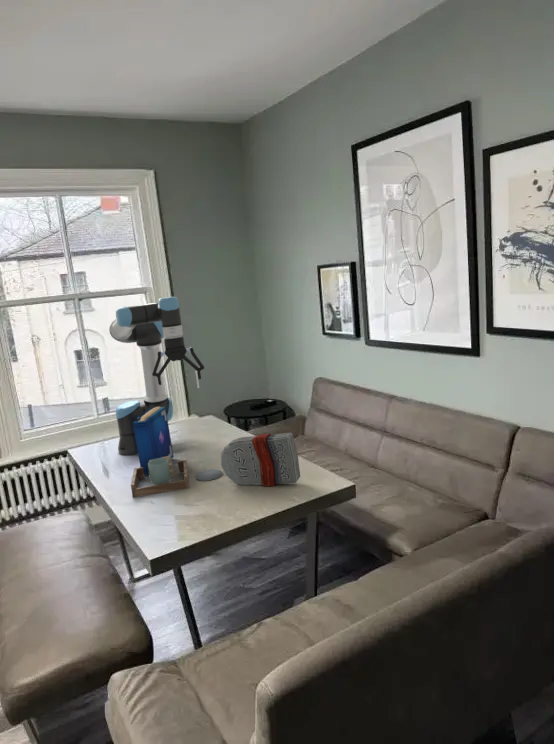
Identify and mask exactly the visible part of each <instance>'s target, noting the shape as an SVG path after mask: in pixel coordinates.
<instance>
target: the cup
mask: <svg viewBox="0 0 554 744" xmlns="http://www.w3.org/2000/svg"><path fill="white" fill-rule="evenodd" d="M148 469H149V475H150V478H149V480H150V479H151V481H150V482H151V483H152V485H158V484H164V483H170V481H171V477H170V469H169V463H168V459H166V458H157V459H153V460H151V461H149V462H148ZM149 475H148V476H149Z"/></svg>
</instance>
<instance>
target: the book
mask: <svg viewBox="0 0 554 744" xmlns="http://www.w3.org/2000/svg"><path fill="white" fill-rule="evenodd" d="M133 429H134V434H135V440H136V445H137V451H138V454H137V455H138V460H139V466H140V467H143V470H144V476H149V469H148V462H149V460H153V459H157V458H162V457H166V456H170V458H171V460H172V459H173V458H174V451H173V445H172V440H171V439H172V438H171V433H170V427H169V421H168V419H167V413H166V407H165V406H163V407H159V406H158V407H155V408H154V407H151V408H150V409H148V410H146V411H145V412H144V413H142V414H141V415H140V416H139V417H138V418H137V420H135V421H134V422H133Z"/></svg>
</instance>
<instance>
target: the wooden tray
mask: <svg viewBox="0 0 554 744" xmlns="http://www.w3.org/2000/svg"><path fill="white" fill-rule="evenodd" d="M177 467H178V469H177V470H178V474H183V477H184V480H177V481H176V480H175V481H171V482H170V481H169V483H164V484H158V485H153V484H152V485H147V486H146V485H145V486H142V487H138V486H139V482H140V481H143V480H145V479H146V477H145V476H146V475H144V470H143V467H135V468H133V472H132V477H131V482H130V488H131V495H132V498H137V497H138V498H139V497H143V496H149V495H155V494H161V493H166V492H167V493H168V492H171V491H172V492H173V491H178V490H183V489H189V488H190V482H189V480H190V479H189V471H188V470H189V469H188V463H187V459H183V460H178V461H177Z"/></svg>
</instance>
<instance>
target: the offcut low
mask: <svg viewBox="0 0 554 744" xmlns="http://www.w3.org/2000/svg"><path fill="white" fill-rule="evenodd" d="M174 477H175V472H174V469H173V471H170V478H174ZM148 478H149V482H151V479H150V475H148Z"/></svg>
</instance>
